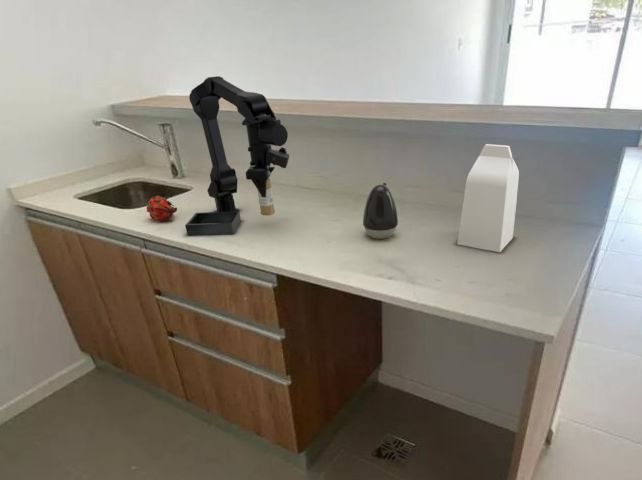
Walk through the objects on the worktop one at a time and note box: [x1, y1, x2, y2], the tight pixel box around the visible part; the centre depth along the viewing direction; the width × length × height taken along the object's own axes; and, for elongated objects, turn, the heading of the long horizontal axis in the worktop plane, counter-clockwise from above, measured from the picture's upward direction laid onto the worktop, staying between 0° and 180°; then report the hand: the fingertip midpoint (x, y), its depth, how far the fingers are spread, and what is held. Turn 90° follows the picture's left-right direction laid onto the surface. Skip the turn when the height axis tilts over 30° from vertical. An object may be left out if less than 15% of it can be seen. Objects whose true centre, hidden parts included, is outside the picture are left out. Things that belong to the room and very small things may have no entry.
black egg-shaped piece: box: [362, 182, 399, 240], centre depth 135 cm, size 10×10×15 cm
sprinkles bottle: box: [257, 172, 276, 217], centre depth 144 cm, size 5×5×14 cm
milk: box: [456, 143, 520, 253], centre depth 125 cm, size 12×12×26 cm
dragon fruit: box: [146, 195, 178, 223], centre depth 159 cm, size 8×8×12 cm
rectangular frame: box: [184, 210, 242, 237], centre depth 150 cm, size 12×15×4 cm
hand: (265, 194), depth 144 cm, fingers closed on sprinkles bottle, 4 cm apart
